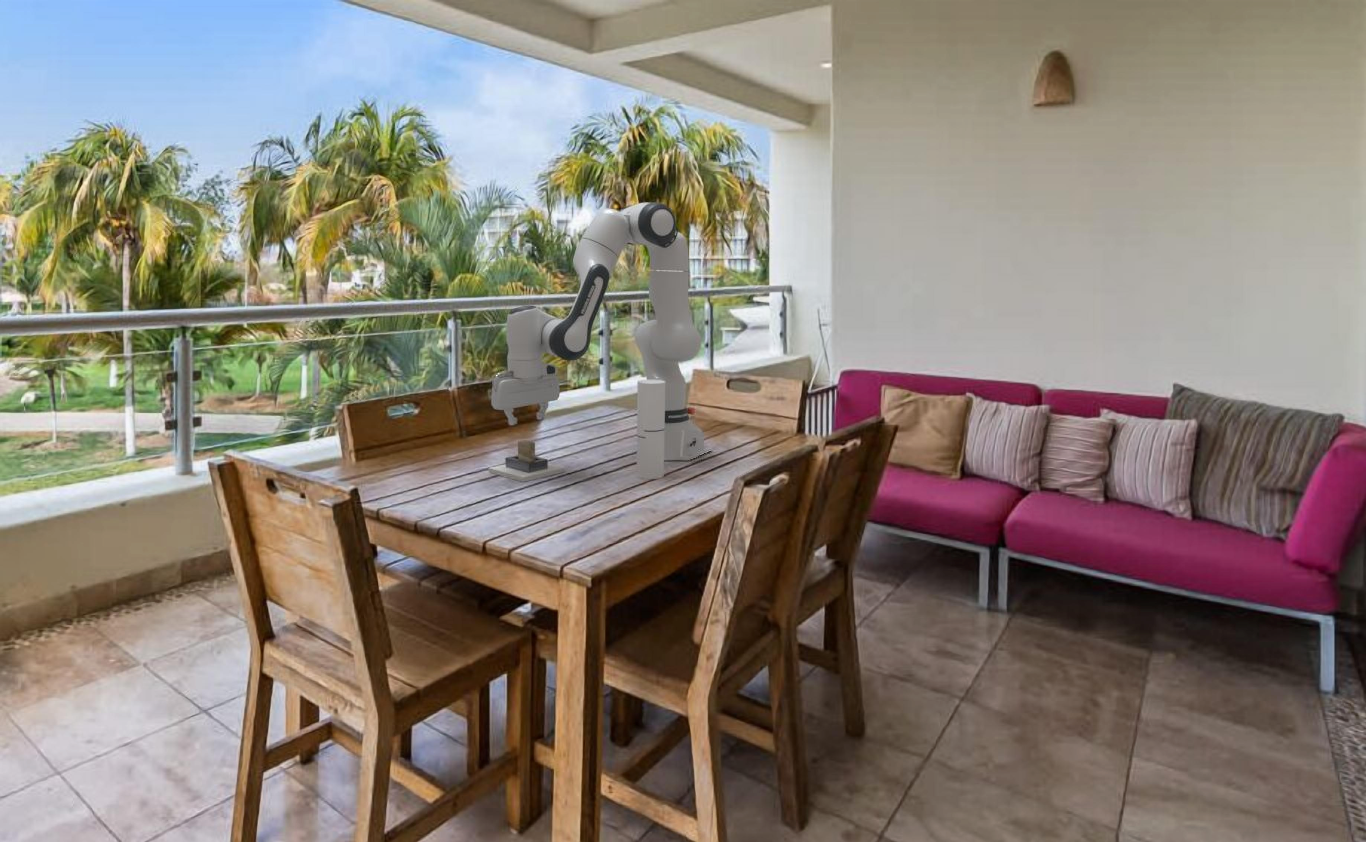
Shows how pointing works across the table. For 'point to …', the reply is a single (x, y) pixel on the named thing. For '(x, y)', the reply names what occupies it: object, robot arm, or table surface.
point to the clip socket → (526, 464)
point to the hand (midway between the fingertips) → (527, 421)
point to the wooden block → (526, 450)
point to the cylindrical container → (650, 428)
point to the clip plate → (525, 476)
